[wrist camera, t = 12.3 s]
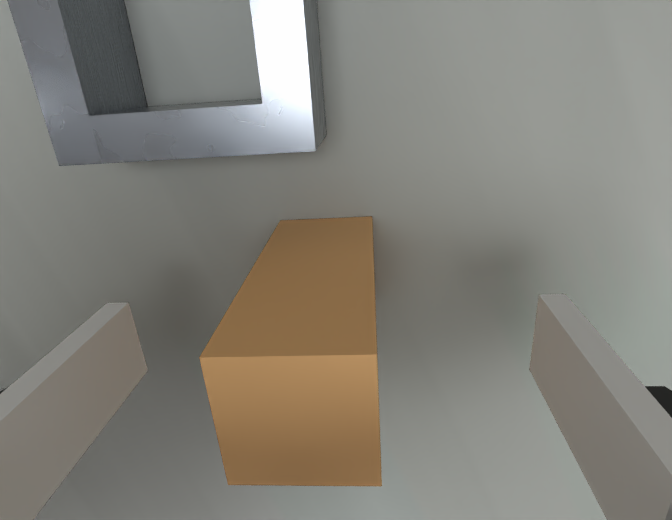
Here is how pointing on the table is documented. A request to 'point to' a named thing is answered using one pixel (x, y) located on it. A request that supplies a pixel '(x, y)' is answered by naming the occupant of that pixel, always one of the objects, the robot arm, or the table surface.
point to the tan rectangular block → (300, 361)
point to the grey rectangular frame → (170, 120)
